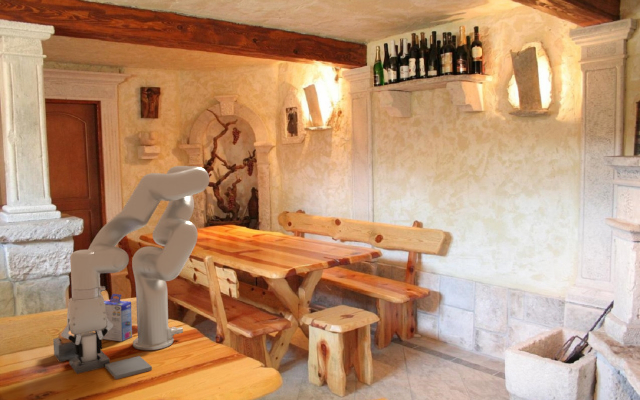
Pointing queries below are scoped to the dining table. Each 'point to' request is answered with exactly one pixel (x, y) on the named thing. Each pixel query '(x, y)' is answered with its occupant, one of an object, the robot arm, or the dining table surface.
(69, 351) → the housing
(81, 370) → the collar
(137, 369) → the mat
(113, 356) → the dining table surface
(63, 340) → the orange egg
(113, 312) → the ink cartridge box
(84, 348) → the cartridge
